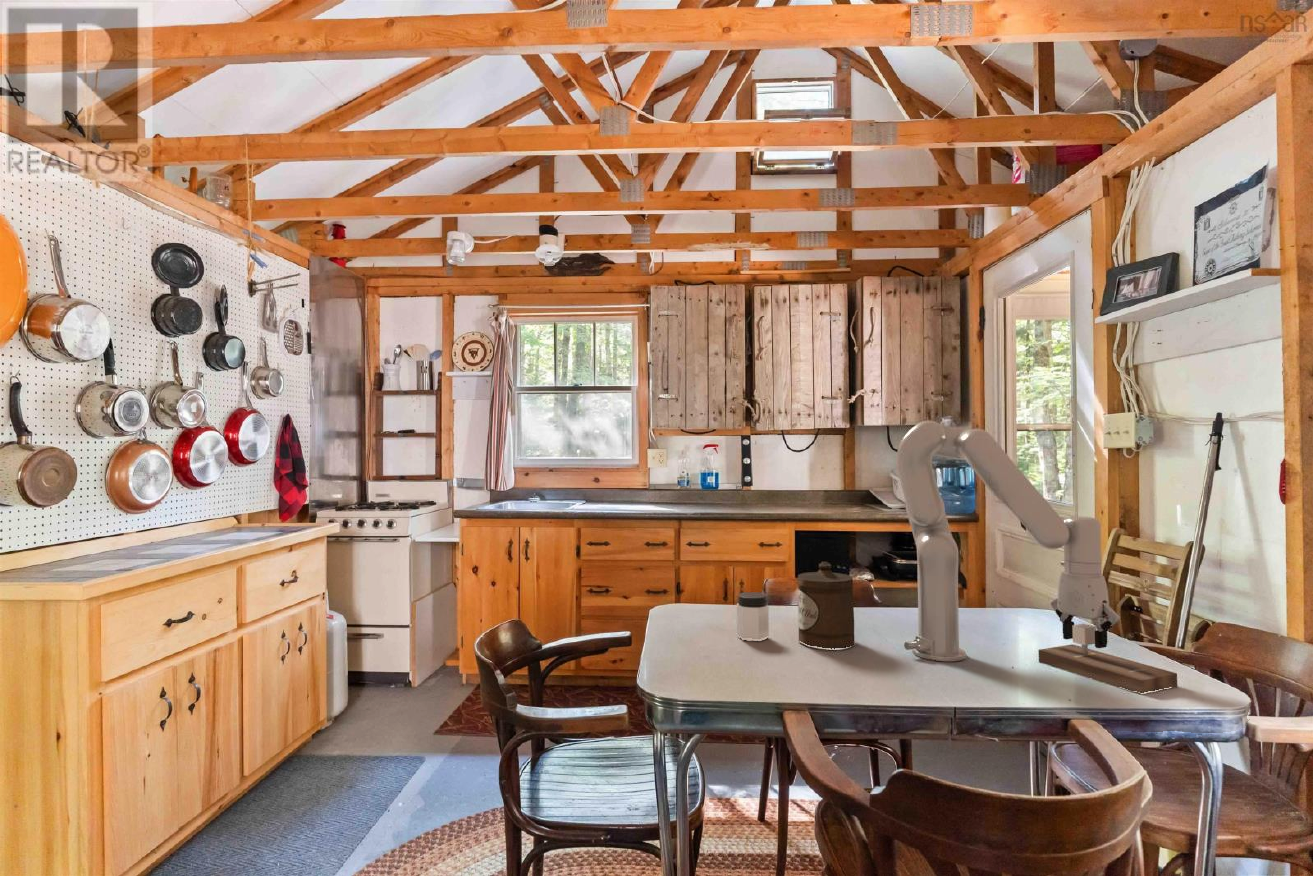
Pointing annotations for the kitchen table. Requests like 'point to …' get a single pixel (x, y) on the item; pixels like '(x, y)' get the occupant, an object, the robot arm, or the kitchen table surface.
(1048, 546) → the robot arm
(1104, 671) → the control board
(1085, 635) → the block
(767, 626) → the jar
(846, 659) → the kitchen table surface
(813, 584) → the wooden container
